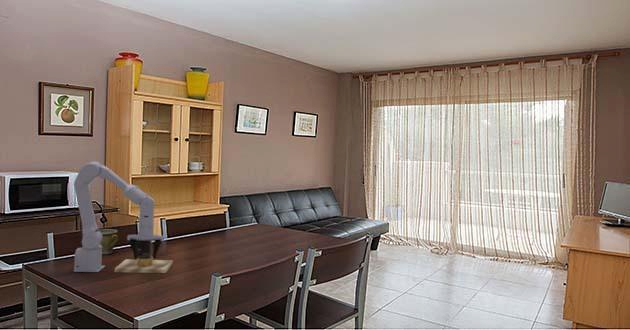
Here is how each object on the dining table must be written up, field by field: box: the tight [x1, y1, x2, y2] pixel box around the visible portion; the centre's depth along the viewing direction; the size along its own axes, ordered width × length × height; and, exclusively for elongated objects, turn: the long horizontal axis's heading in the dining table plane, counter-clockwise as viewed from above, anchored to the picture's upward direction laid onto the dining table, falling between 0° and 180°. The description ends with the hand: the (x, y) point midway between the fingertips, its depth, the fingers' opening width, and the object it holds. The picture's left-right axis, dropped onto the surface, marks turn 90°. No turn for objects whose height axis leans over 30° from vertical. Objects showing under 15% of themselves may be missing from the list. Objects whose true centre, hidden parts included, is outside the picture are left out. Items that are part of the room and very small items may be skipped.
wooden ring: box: [136, 255, 154, 266], centre depth 185 cm, size 6×6×3 cm
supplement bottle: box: [135, 233, 153, 259], centre depth 200 cm, size 7×7×12 cm
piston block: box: [114, 253, 174, 274], centre depth 185 cm, size 20×14×6 cm
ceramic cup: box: [99, 228, 119, 255], centre depth 205 cm, size 13×10×10 cm
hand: (145, 257), depth 185 cm, fingers open, 7 cm apart
